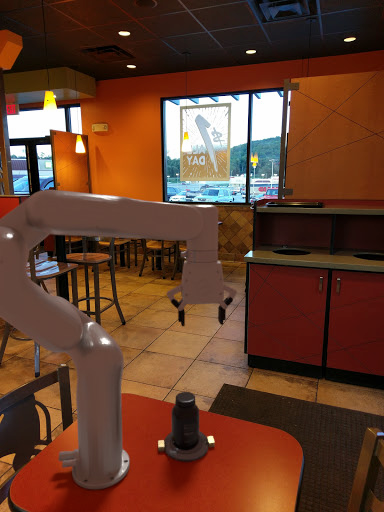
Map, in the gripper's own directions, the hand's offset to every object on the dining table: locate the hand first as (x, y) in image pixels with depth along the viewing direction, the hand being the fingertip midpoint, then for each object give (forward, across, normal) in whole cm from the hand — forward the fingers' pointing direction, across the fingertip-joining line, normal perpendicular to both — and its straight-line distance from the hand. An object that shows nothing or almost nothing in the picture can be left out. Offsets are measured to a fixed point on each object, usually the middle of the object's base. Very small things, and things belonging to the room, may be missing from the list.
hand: (201, 323), depth 90 cm
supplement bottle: (+29, -5, -5) cm, 30 cm away
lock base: (+30, -4, -5) cm, 31 cm away
